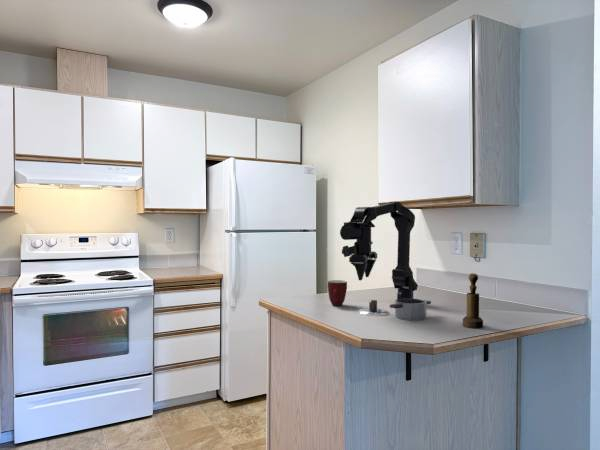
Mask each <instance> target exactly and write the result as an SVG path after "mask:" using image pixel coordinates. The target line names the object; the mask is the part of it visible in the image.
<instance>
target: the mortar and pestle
mask: <svg viewBox="0 0 600 450" xmlns="http://www.w3.org/2000/svg"><path fill="white" fill-rule="evenodd" d="M468 280H469V282H470V285H469V291H470V292H466V315H465V316H464V317H463V318H462V326H463V327H465V328H470V329H482V328H484V320H483V319H482V317H480V293H477V292H476V291H477V287H478V286H477V285H476V284H477V281H478V280H479V276H478V274H476V273H475V272H474V273H473V272H471V273H470V274H469V275H468Z"/></svg>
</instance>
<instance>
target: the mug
mask: <svg viewBox="0 0 600 450" xmlns="http://www.w3.org/2000/svg"><path fill="white" fill-rule="evenodd" d="M347 289H348V281H346V280H341V279H340V280H339V279H335V280H334V279H332V280H328V281H327V292H328V293H327V294H328V299H329V301H330V303H331V305H332V306H333V307H341V306H343V304H344V302H345V299H346V296H347Z"/></svg>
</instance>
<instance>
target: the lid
mask: <svg viewBox="0 0 600 450" xmlns="http://www.w3.org/2000/svg"><path fill="white" fill-rule="evenodd" d="M368 302H369V303H368V306H369V307H368V308H367V307H365V308H360V309H358V310H357V312H358V314H360V315H364V316H370V317H373V316H374V317H382V316H387V315H388V314H389V311H388V310H386V309H383V308H382V309H381V308H378V300H377V299H370V300H368Z"/></svg>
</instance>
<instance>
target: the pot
mask: <svg viewBox="0 0 600 450" xmlns="http://www.w3.org/2000/svg"><path fill="white" fill-rule="evenodd" d="M431 304H432V302H431V300H426V299H424V300H423V299H420V298H413V299H412V298H402V299H395V301H394V303H391V304H389V308H391V309H395V312H394V313H395V314H394V316H395V318H396V319H399V320H405V321H410V322H411V321H417V322H418V321H424V320H426V319H427V305H431Z"/></svg>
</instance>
